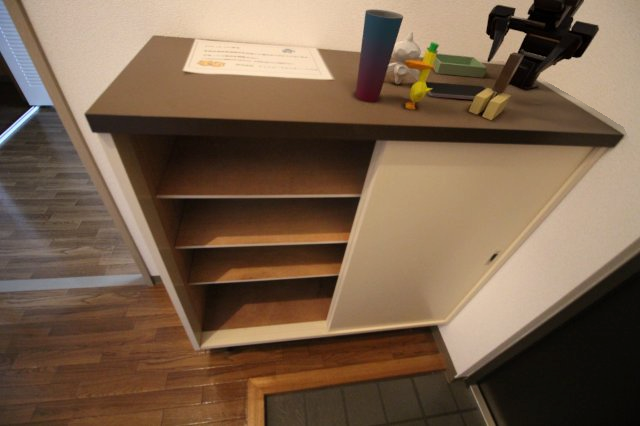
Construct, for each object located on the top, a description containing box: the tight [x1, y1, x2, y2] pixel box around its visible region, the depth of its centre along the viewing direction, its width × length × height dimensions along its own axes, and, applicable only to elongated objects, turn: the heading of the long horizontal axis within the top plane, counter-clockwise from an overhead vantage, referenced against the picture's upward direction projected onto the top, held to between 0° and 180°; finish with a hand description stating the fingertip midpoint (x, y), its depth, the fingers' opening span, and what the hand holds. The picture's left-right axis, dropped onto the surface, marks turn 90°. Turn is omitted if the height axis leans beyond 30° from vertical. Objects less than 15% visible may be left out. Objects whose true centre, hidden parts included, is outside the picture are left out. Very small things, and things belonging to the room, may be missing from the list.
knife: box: [491, 51, 524, 100], centre depth 59 cm, size 3×2×11 cm, turn 137°
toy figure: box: [404, 41, 440, 110], centre depth 55 cm, size 7×4×12 cm, turn 83°
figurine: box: [386, 31, 422, 85], centre depth 65 cm, size 12×5×11 cm, turn 83°
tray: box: [432, 53, 488, 79], centre depth 80 cm, size 13×9×3 cm
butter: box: [468, 87, 512, 121], centre depth 60 cm, size 7×5×4 cm
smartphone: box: [425, 81, 487, 101], centre depth 67 cm, size 7×1×15 cm
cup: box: [355, 8, 404, 103], centre depth 56 cm, size 7×7×15 cm
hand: (510, 67), depth 57 cm, fingers open, 9 cm apart
